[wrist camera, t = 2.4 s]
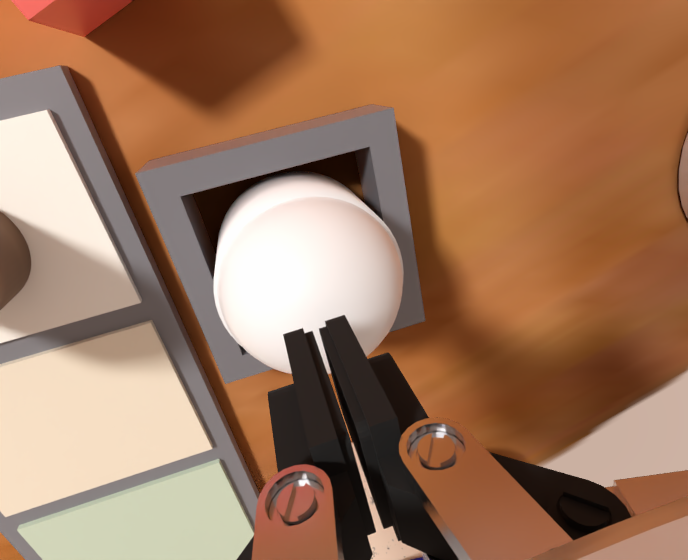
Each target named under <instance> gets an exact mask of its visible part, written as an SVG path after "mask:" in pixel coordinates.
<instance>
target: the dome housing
mask: <svg viewBox="0 0 688 560" xmlns="http://www.w3.org/2000/svg"><path fill="white" fill-rule="evenodd" d="M351 151H355V156H356V161H357V166H358V171H359V176H360V181H361V187H362V192H363V197H364V202H365V205H367V206H368V207H369V208H370V209H371V210H372V211H373V212H374V213H375V214H376V215H377V216H378V217H379V218H380V219H381V220H382V221H383V222H384V223H385V224H386V225H387V227H388V228H389V229H390V231H391V232H392V234H393V236H394V238H395V239H396V242H397V244H398V247H399V249H400V253H401V257H402V261H403V271H404V273H403V287H402V297H401V303H400V307H399V310H398V313H397V316H396V319H395V321H394V323H393V325H392V327H391V329H390V331H389V332H392V331H395V330H398V329H401V328H405V327H408V326H411V325H414V324H417V323H420V322H424V321H425V315H424V308H423V301H422V295H421V288H420V281H419V275H418V268H417V261H416V255H415V248H414V241H413V235H412V228H411V221H410V215H409V208H408V201H407V195H406V188H405V181H404V175H403V168H402V161H401V155H400V148H399V141H398V135H397V128H396V121H395V115H394V108H392V107H385V106H379V105H373V104H371V105H367V106H363V107H359V108H355V109H351V110H348V111H344V112H340V113H336V114H332V115H328V116H324V117H320V118H316V119H312V120H308V121H304V122H300V123H296V124H292V125H288V126H284V127H280V128H276V129H272V130H268V131H264V132H260V133H257V134H253V135H249V136H245V137H241V138H237V139H233V140H229V141H225V142H221V143H217V144H213V145H209V146H205V147H201V148H197V149H193V150H189V151H185V152H181V153H177V154H173V155H169V156H166V157H162V158H158V159H154V160H150V161H148V162H147V163H146V164H145V165H144V166H143V167H142V168H141V169H140V170H139V171H138V172H136V173H135V175H136V177H137V179H138V182H139V184H140V186H141V189H142V191H143V193H144V196H145V198H146V200H147V203H148V205H149V207H150V210H151V212H152V214H153V217H154V219H155V221H156V224H157V226H158V228H159V231H160V233H161V235H162V238H163V240H164V242H165V245H166V247H167V249H168V252H169V254H170V256H171V259H172V261H173V263H174V265H175V268H176V270H177V272H178V275H179V277H180V279H181V282H182V284H183V286H184V289H185V291H186V293H187V296H188V298H189V300H190V303H191V305H192V307H193V310H194V312H195V314H196V317H197V319H198V321H199V324H200V326H201V328H202V331H203V333H204V335H205V338H206V340H207V342H208V345H209V347H210V349H211V352H212V354H213V356H214V359H215V361H216V363H217V366H218V368H219V370H220V373H221V375H222V377H223V380H224V382H225V384H226V383H230V382H233V381H236V380H239V379H242V378H246V377H249V376H252V375H255V374H258V373H261V372H265V371H268V370H271V369H274V368H271V367H269V366H267V365H265V364H264V363H262V362H261V361H259V360H257V359H256V358H254V357H253V356H252V355H250V354H249V353H248V352H247V351H246V350H245V349H244V348H243V347H242V346H241V345H239V344H238V343H237V342H236V341H235V339H234V338H233V337H232V336H231V335H230V334H229V332H228V331H227V329H226V328H225V326H224V325H223V323H222V321H221V319H220V317H219V314H218V311H217V308H216V304H215V298H214V272H215V263H216V254H215V252H214V249H213V246H212V244H211V241H210V238H209V236H208V233H207V230H206V228H205V225H204V222H203V220H202V217H201V214H200V212H199V209H198V206H197V204H196V201H195V199H194V196H193V193H196V192H199V191H203V190H207V189H211V188H215V187H218V186H222V185H226V184H230V183H234V182H237V181H241V180H245V179H249V178H252V177H256V176H260V175H264V174H268V173H271V172H275V171H279V170H283V169H287V168H290V167H294V166H298V165H302V164H306V163H309V162H313V161H317V160H321V159H325V158H328V157H332V156H336V155H340V154H343V153H347V152H351ZM389 332H388V333H389Z"/></svg>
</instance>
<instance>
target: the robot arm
mask: <svg viewBox="0 0 688 560" xmlns="http://www.w3.org/2000/svg"><path fill="white" fill-rule="evenodd" d="M679 193H680V198H681V203H682V207H683V210H684V212H685V214H686V216H687V218H688V133H687V136H686V139H685V143H684V146H683V149H682V155H681V161H680V166H679ZM325 325H326V327H323V328H319V332H320V336H321V339H322V343H323V346H324V350H325V353H326V357H327V360H328V364H329V367H330V371H331V374H332V378H333V381H334V385H335V388H336V392H337V395H338V399H339V402H340V406H341V409H342V412H343V415H344V418H345V421H346V424H347V427H348V430H349V433H350V435H351V438H352V441H353V444H354V447H355V450H356V452H357V455H358V458H359V461H360V464H361V467H362V469H363V472H364V475H365V478H366V481H367V484H368V486H369V489H370V492H371V495H372V498H373V500H374V503H375V506H376V509H377V512H378V515H379V517H380V520H381V523H382V526H383V528H384V529H386V528H389V527H391V526H393V529H394V531H395V534H396V537H397V539H398V541H402V543H403V544H406V545H408V546H410V547H412V548H415V549H417V550H419V551H421V554H422V557H423V559H424V560H688V470H685V471H678V472H670V473H664V474H656V475H649V476H642V477H635V478H627V479H620V480H614V486H612V487H605V488H604V487H603V486H601V485H599V484H596V483H594V482H591V481H589V480H586V479H582V478H579V477H575V476H571V475H568V474H564V473H561V472H557V471H554V470H550V469H547V468H543V467H540V466H536V465H533V464H529V463H525V462H522V461H518V460H515V459H511V458H508V457H504V456H501V455H497V454H494V453H490V452H488V451H487V450H486V449H485V448H484V447H483V446H482V445H481V444H480V443H479V442H478V441H477V440H476V439H475V438H474V436H473V435H472V434H471V433H470V432H469V431H468V430H467V429H466V428H464V427H463V426H462V425H460V424H459V423H457V422H455V421H452V420H450V419H446V418H438V417H436V418H429V417H428V416H427V414H426V412H425V411H424V409H423V407H422V406H421V404H420V402H419V401H418V399H417V397H416V396H415V394H414V393H413V391H412V389H411V388H410V386H409V384H408V383H407V381H406V379H405V378H404V376H403V374H402V373H401V371H400V369H399V368H398V366H397V364H396V363H395V361H394V360H393V358H392V356H391V355H390V354H389V353H388V352H387V353H384V354H381V355H378V356H375V357H372V358H369V359H367V357H366V355H365V353H364V351H363V349H362V347H361V346H360V344H359V342H358V340H357V338H356V336H355V334H354V332H353V330H352V328H351V326H350V324H349V322H348V320H347V318H346V316H345V315H342V316H339V317H336V318H333V319H330V320H327V321H325ZM283 336H284V341H285V345H286V350H287V354H288V359H289V363H290V367H291V372H292V376H293V381H294V384H291V385H288V386H285V387H282V388H279V389H276V390H273V391H270V392H268V401H269V408H270V416H271V423H272V431H273V438H274V446H275V453H276V461H277V468H278V473H277V474H276V475H274V476H273V477H272V478H271V479H270V480H269V481H268V482H267V483H266V484H265V486H264V488H263V490H262V491H261V493H260V495H259V499H258V502H257V508H256V518H255V529H254V536H253V537H252V539H251V540H250V542H249V543H248V544H247V546H246V547H245V548H244V550H243V551H242V553H241V554H240V555H239V557H238V558H237V560H370V559H371V557H372V555H373V553H372V550H371V546H370V543H369V540H368V535H371V534H373V533H376V529H375V525H374V522H373V518H372V515H371V511H370V508H369V504H368V501H367V497H366V494H365V490H364V487H363V483H362V479H361V476H360V472H359V469H358V465H357V462H356V458H355V455H354V451H353V448H352V444H351V441H350V438H349V434H348V431H347V428H346V425H345V422H344V419H343V417H342V414H341V411H340V408H339V405H338V402H337V399H336V397H335V394H334V391H333V388H332V385H331V382H330V379H329V377H328V374H327V371H326V368H325V365H324V362H323V359H322V356H321V354H320V351H319V348H318V345H317V342H316V339H315V336H314V334H313V331H310V332H307V333H304V330H303V328H301V329H298V330H295V331H292V332H289V333H285V334H283Z"/></svg>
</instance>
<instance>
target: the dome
mask: <svg viewBox="0 0 688 560" xmlns="http://www.w3.org/2000/svg"><path fill="white" fill-rule="evenodd" d="M403 273H404V271H403V261H402V257H401V253H400V249H399V247H398V244H397V242H396V239H395V238H394V236H393V234H392V232H391V231H390V229H389V228H388V227H387V225H386V224H385V223H384V222H383V221H382V220H381V219H380V218H379V217H378V216H377V215H376V214H375V213H374V212H373V211H372V210H371V209H370V208H369V207H368V206H367V205H365V204H364V203H363V202H362V201H361V200H360V199H359V198H358V197H357V196H356V195H355V194H354V193H353V192H352V191H351V190H349V189H348V188H347V187H346V186H344V185H343V184H341V183H340V182H338V181H336V180H334V179H332V178H331V177H328V176H325V175H322V174H318V173H314V172H307V171H290V172H284V173H278V174H275V175H272V176H269V177H266V178H264V179H262V180H260V181H258V182H256V183H255V184H253V185H252V186H250V187H249V188H247V189H246V190H245V191H244V192H243V193H242V194H241V195H240V196H239V197H238V198H237V199H236V200H235V201H234V202H233V204H232V205H231V207H230V208H229V210H228V211H227V213H226V215H225V217H224V219H223V222H222V224H221V228H220V231H219V237H218V244H217V253H216V263H215V272H214V298H215V304H216V308H217V311H218V314H219V317H220V319H221V321H222V323H223V325H224V326H225V328H226V329H227V331H228V332H229V334H230V335H231V336H232V337H233V338H234V339H235V341H236V342H237V343H238V344H239V345H241V346H242V347H243V348H244V349H245V350H246V351H247V352H248V353H249V354H250V355H252V356H253V357H254V358H256V359H257V360H259V361H261V362H262V363H264V364H265V365H267V366H269V367H271V368H274V369H276V370H279V371H282V372H285V373H290V374H292V372H291V367H290V363H289V359H288V354H287V350H286V345H285V341H284V336H283V334H285V333H289V332H292V331H295V330H298V329H301V328H303V330H304V333H307V332H310V331H313V334H314V336H315V339H316V342H317V345H318V348H319V351H320V354H321V356H322V359H323V362H324V365H325V368H326V371H327V374H331V371H330V367H329V364H328V360H327V357H326V353H325V350H324V346H323V343H322V339H321V336H320V332H319V328H323V327H326V325H325V321H327V320H330V319H333V318H336V317H339V316H342V315H345V316H346V318H347V320H348V322H349V324H350V326H351V328H352V330H353V332H354V334H355V336H356V338H357V340H358V342H359V344H360V346H361V347H362V349H363V351H364V353H365V355H366V357H367V356H368V355H369V354H370V353H371V352H373V351H374V350H375V348H376V347H377V346H378V345H379V344H380V343H381V342H382V340H383V339H384V338H385V337H386V335H387V334H388V332H389V331H390V329H391V327H392V325H393V323H394V321H395V319H396V316H397V313H398V310H399V307H400V303H401V297H402V287H403Z"/></svg>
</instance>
